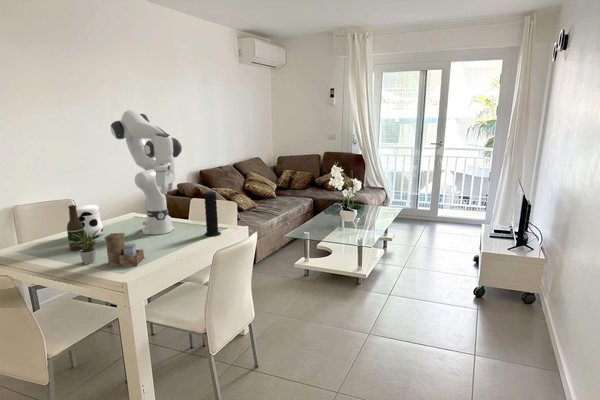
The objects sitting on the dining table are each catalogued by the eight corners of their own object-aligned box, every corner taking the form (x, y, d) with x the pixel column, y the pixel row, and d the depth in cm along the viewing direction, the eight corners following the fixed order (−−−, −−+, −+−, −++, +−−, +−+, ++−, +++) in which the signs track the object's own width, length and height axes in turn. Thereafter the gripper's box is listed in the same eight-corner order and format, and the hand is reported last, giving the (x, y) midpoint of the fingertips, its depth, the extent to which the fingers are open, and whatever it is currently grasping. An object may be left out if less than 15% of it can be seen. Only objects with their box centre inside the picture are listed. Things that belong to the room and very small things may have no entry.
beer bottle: (89, 247, 210) (83, 204, 205) (77, 251, 202) (71, 207, 198) (78, 245, 212) (73, 203, 207) (66, 250, 205) (60, 206, 200)
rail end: (137, 258, 188) (135, 243, 186) (134, 261, 184) (132, 245, 182) (128, 259, 187) (127, 243, 186) (125, 262, 183) (123, 246, 182)
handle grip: (218, 236, 225) (223, 232, 234) (215, 192, 219) (220, 189, 229) (201, 236, 226) (207, 231, 235) (198, 192, 220) (204, 189, 230)
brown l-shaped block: (144, 258, 191) (141, 231, 188) (137, 266, 181) (134, 237, 178) (115, 259, 190) (112, 232, 187) (106, 266, 180) (102, 238, 178)
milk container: (104, 231, 240) (100, 203, 236) (103, 238, 224) (99, 209, 221) (72, 235, 232) (68, 206, 229) (69, 243, 217) (65, 212, 213)
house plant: (93, 254, 197) (89, 224, 194) (112, 258, 192) (109, 226, 189) (67, 264, 184) (62, 231, 181) (87, 268, 179) (83, 234, 176)
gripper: (165, 163, 204) (167, 189, 206) (152, 168, 184) (155, 196, 186) (177, 163, 204) (179, 188, 207) (165, 168, 184) (168, 196, 187)
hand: (167, 192), depth 196 cm, fingers open, 8 cm apart
